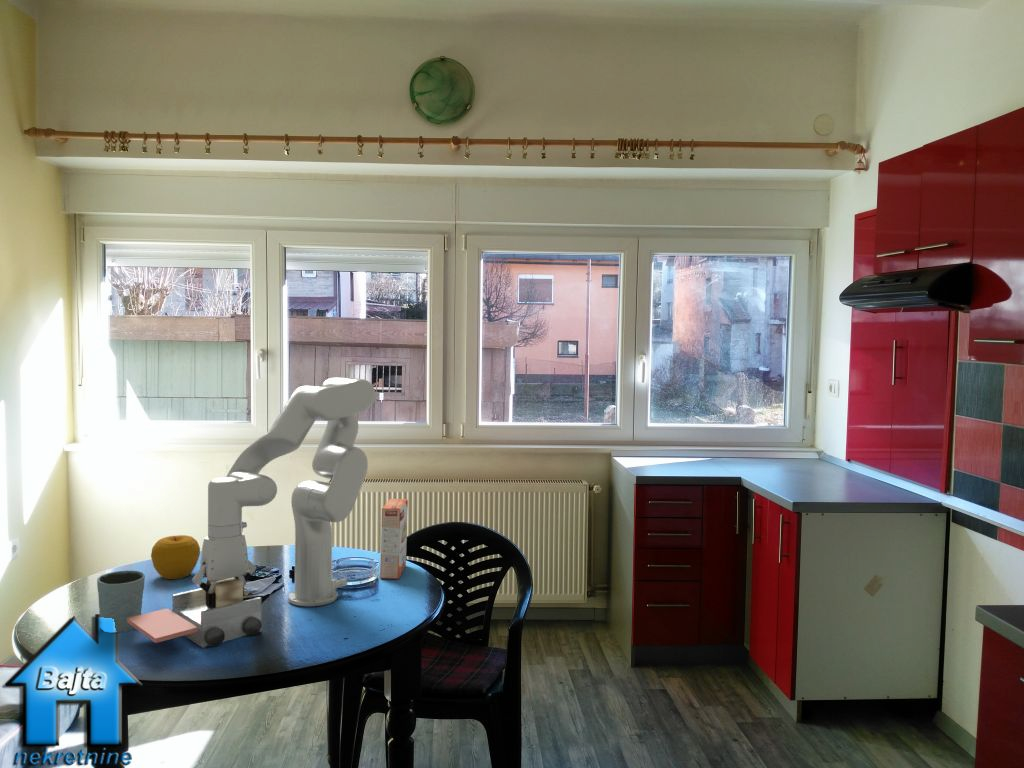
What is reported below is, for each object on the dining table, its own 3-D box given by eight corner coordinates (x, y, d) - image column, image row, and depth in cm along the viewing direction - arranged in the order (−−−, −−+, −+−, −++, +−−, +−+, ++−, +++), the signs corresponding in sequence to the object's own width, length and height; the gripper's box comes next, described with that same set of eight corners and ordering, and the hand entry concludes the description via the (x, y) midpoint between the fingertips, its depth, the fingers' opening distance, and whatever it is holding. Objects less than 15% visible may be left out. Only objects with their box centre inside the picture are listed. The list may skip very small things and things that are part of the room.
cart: (226, 612, 190) (227, 580, 190) (263, 632, 178) (263, 599, 177) (170, 626, 180) (170, 593, 180) (205, 649, 168) (205, 614, 167)
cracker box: (400, 580, 219) (401, 508, 218) (379, 579, 219) (380, 507, 218) (407, 565, 233) (408, 498, 232) (387, 565, 233) (388, 497, 232)
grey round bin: (112, 617, 185) (112, 569, 184) (153, 619, 185) (153, 570, 184) (88, 633, 175) (87, 582, 174) (131, 635, 174) (130, 584, 174)
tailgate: (167, 608, 178) (126, 618, 172) (197, 627, 167) (155, 638, 161) (167, 614, 178) (127, 624, 172) (197, 633, 167) (155, 644, 161)
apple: (142, 576, 216) (142, 537, 215) (184, 566, 227) (184, 528, 226) (167, 586, 209) (167, 545, 208) (209, 574, 219) (209, 535, 219)
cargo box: (231, 600, 184) (231, 576, 184) (243, 606, 180) (243, 582, 180) (206, 606, 180) (206, 581, 180) (218, 613, 176) (218, 587, 176)
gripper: (251, 521, 188) (251, 592, 189) (181, 533, 175) (181, 609, 177) (266, 527, 183) (266, 600, 184) (195, 539, 170) (196, 618, 171)
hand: (225, 604), depth 180 cm, fingers closed on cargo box, 6 cm apart
